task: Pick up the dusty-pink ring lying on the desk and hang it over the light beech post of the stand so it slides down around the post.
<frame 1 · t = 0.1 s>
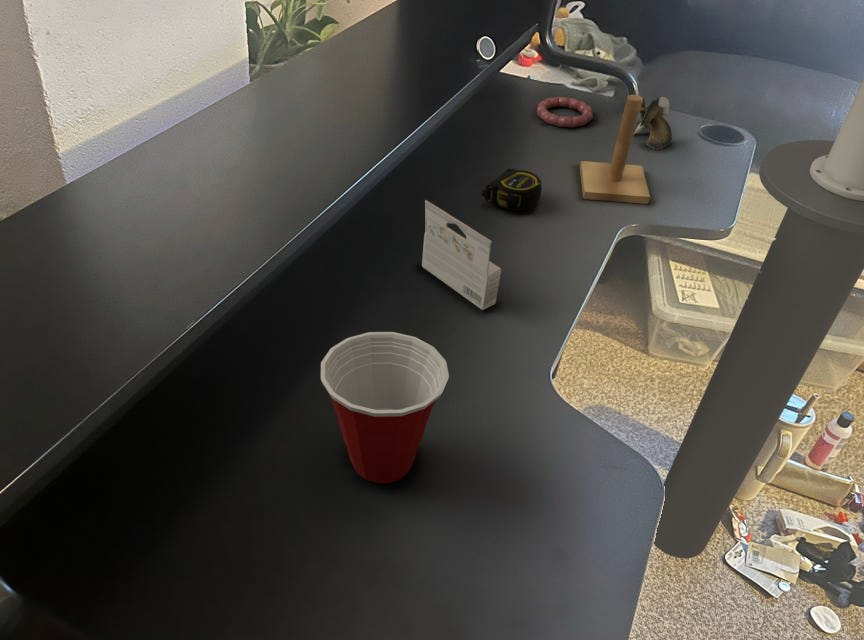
ring: (564, 111, 123), point 1 cm above the table
ink cartridge box: (457, 286, 89), on the table
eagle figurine: (646, 136, 119), on the table
plastic cup: (382, 459, 70), on the table
tape measure: (508, 203, 104), on the table
stand: (612, 185, 107), on the table
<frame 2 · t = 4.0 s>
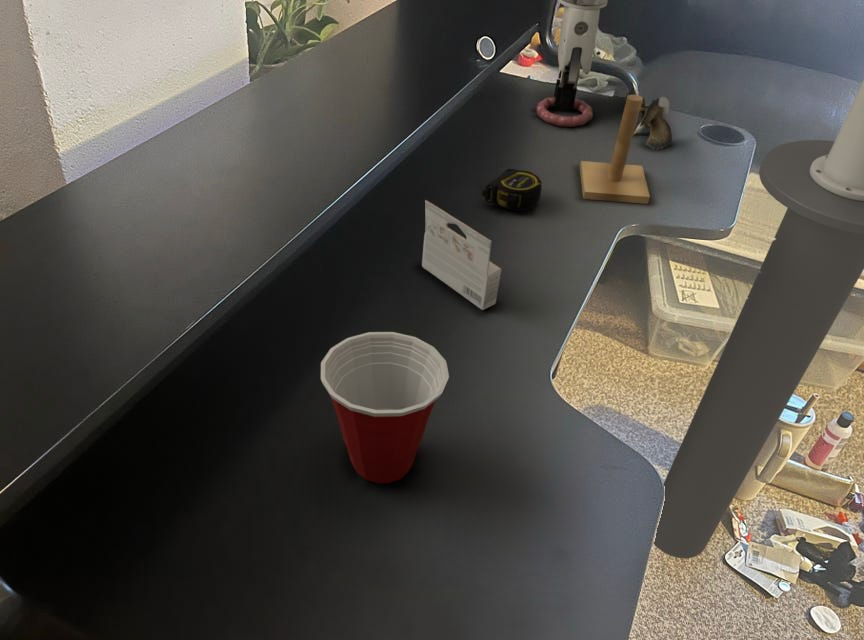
hand: (562, 105, 126), 0 cm above the table, tool pointing down, fingers closed on ring, 2 cm apart
ring: (564, 111, 123), point 1 cm above the table, touching gripper
everything else where it was.
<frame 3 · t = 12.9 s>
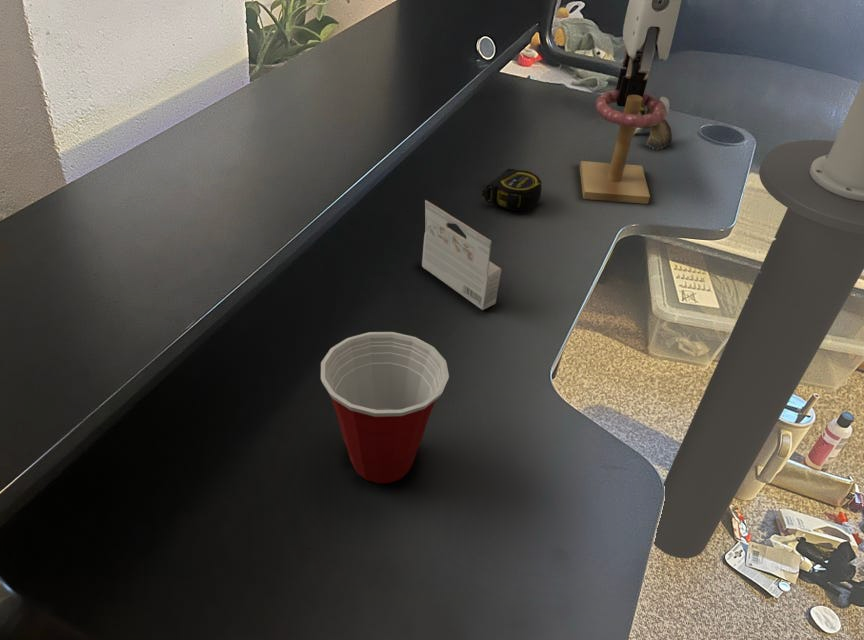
hand: (627, 101, 103), 11 cm above the table, tool pointing down, fingers closed on ring
ring: (630, 108, 99), point 12 cm above the table, touching gripper
everything else where it was.
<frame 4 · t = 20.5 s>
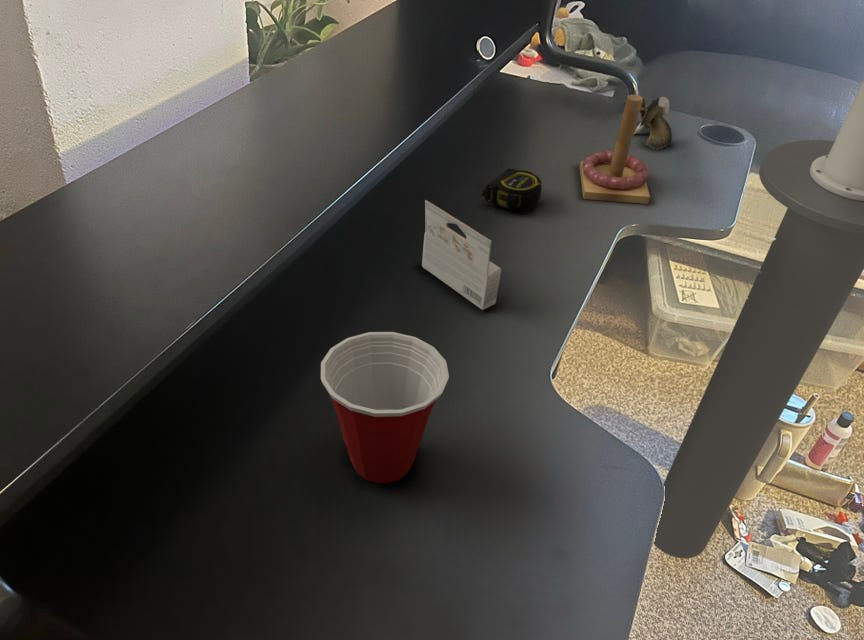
ring: (615, 169, 107), point 2 cm above the table, touching stand
everything else where it was.
at the end: ring 1.0 cm from the stand (horizontally); ring point 2.0 cm above the table; the gripper is holding nothing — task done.
